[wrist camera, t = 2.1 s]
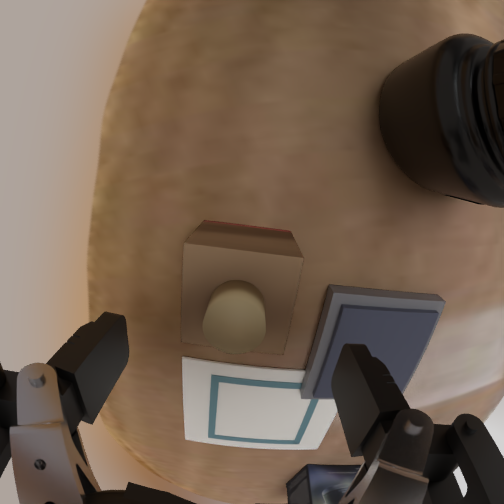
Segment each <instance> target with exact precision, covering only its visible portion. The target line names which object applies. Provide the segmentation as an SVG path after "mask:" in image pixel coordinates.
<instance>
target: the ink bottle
mask: <svg viewBox="0 0 504 504" xmlns="http://www.w3.org/2000/svg"><path fill="white" fill-rule="evenodd" d="M379 121H380V128H381V132H382V136H383V139H384V142H385V144H386V147H387V149H388V151H389V153H390V154H391V156H392V158H393V159H394V161H395V162H396V164H397V165H398V166H399V167H400V169H401V170H402V171H403V172H404V173H405V174H406V175H407V176H408V177H409V178H410V179H412V180H413V181H414V182H416V183H417V184H418V185H420V186H422V187H424V188H426V189H428V190H431V191H434V192H438V193H442V194H446V196H450V197H454V198H457V199H461V200H465V201H469V202H473V203H476V204H482V205H488V206H492V207H499V208H504V39H503V40H501V41H499V42H497V43H495V44H493V43H492V42H490V41H488V40H486V39H484V38H482V37H479V36H477V35H473V34H456V35H453V36H450V37H448V38H446V39H444V40H442V41H440V42H438V43H437V44H435V45H433V46H431V47H430V48H428V49H426V50H424V51H423V52H421V53H419V54H417V55H416V56H414V57H412V58H411V59H409V60H407V61H406V62H404V63H402V64H401V65H399V66H398V67H397V68H396V69H394V70H393V71H392V73H391V74H390V75H389V77H388V78H387V80H386V82H385V84H384V86H383V89H382V93H381V97H380V104H379Z"/></svg>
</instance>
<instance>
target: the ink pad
mask: <svg viewBox="0 0 504 504" xmlns="http://www.w3.org/2000/svg"><path fill="white" fill-rule="evenodd" d="M445 302H446V301H444V300H443V299H442V298H441V297H440V296H439V295H435V294H423V293H412V292H400V291H389V290H379V289H368V288H358V287H349V286H339V285H329V287H328V291H327V295H326V299H325V303H324V307H323V311H322V314H321V318H320V322H319V326H318V329H317V333H316V336H315V340H314V343H313V347H312V350H311V353H310V357H309V360H308V363H307V366H306V373H305V376H304V379H303V382H302V386H301V389H300V395H301V399H334V397H333V394H332V390H331V380H332V375H333V372H334V370H335V367H336V364H337V361H338V358H339V356H340V353H341V350H342V347H343V345H344V344H346V343H349V344H365V345H366V346H367V348H368V350H369V351H370V353H371V355H372V357H377V358H378V359H379V360H380V361H381V362H383V363H384V364H385V365H386V367H387V368H388V370H389V372H390V374H391V376H392V377H393V379H394V380H395V383H396V384H397V386H398V387H399V389H400V391H401V393H402V394H403V392H404V391H405V389H406V387H407V385H408V384H409V382H410V380H411V378H412V376H413V374H414V372H415V370H416V368H417V367H418V365H419V363H420V361H421V359H422V356H423V354H424V352H425V350H426V348H427V346H428V344H429V342H430V339H431V337H432V335H433V332H434V330H435V328H436V325H437V323H438V320H439V318H440V316H441V313H442V310H443V308H444V305H445Z"/></svg>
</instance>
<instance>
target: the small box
mask: <svg viewBox="0 0 504 504" xmlns="http://www.w3.org/2000/svg"><path fill="white" fill-rule="evenodd" d="M360 467H361V465H354V466H340V465H314V464H307V465H306V466H305V467H304V468H303V469H302V470H301V471H300V472H299V473H297V474H296V475H295V476H294V477H293V478H292V479H291V480H290V481H289V482H288V483H287V484H286V487H287V496H288V504H291V503H299V504H338V503H339V501H340V500H341V498H342V497H343V495H344V494H345V492H346V491H347V489H348V487H349V486H350V484H351V482H352V481H353V479H354V477H355V476H356V474H357V472H358V470H359V469H360Z"/></svg>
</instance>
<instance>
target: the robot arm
mask: <svg viewBox="0 0 504 504" xmlns="http://www.w3.org/2000/svg"><path fill="white" fill-rule="evenodd" d="M128 358H129V345H128V336H127V326H126V319H125V317H124V316H123V315H119V314H114V313H110V312H104V313H103V314H102V315H101V316H100V317H99V318H98V319H97V320H96V321H95V322H92V321H91V322H89V323H87V324H85V325H83V326H81V327H80V328H79V329H78V330H77V331H76V332H75V333H74V334H73V336H71V337H70V338H69V339H68V341H67V343H65V344H64V345H63V346H62V347H61V348H60V349H59V350H58V351H57V352H56V353H55V354H54V355H53V357H52V358H51V359H50V360H49V361H48V362H47V363H46V364H44V363H33V364H30V365H27V366H25V367H24V368H23V369H21V371H20V372H14V371H8V370H3V368H2V366H1V363H0V477H1V475H2V473H3V471H4V469H5V468H6V466H7V464H8V462H9V460H10V458H11V456H12V464H13V470H14V477H15V483H16V488H17V493H18V498H19V502H20V504H196V503H193V502H191V501H188V500H185V499H183V498H181V497H178V496H176V495H173V494H171V493H169V492H165V491H160V490H156V489H152V488H148V487H145V486H141V485H137V484H134V483H131V482H128V485H127V488H126V490H105V491H101V489H100V487H99V485H98V483H97V481H96V479H95V477H94V475H93V472H92V470H91V467H90V464H89V462H88V458H87V455H86V452H85V449H84V446H83V442H82V439H81V436H80V432H79V429H78V427H77V426H78V425H79V423H80V421H81V420H82V421H84V422H86V423H89V424H93V423H94V421H95V419H96V417H97V415H98V413H99V412H100V410H101V408H102V406H103V404H104V403H105V401H106V399H107V397H108V396H109V394H110V392H111V390H112V389H113V387H114V385H115V383H116V382H117V380H118V378H119V377H120V375H121V373H122V371H123V370H124V368H125V366H126V365H127V362H128ZM331 390H332V394H333V397H334V400H335V403H336V407H337V410H338V413H339V417H340V420H341V423H342V427H343V430H344V433H345V437H346V440H347V444H348V447H349V451H350V454H351V457H356V456H364V459H365V461H364V462H363V464H362V465H361V467H360V469H359V470H358V472H357V474H356V476H355V477H354V479H353V481H352V482H351V484H350V486H349V487H348V489H347V491H346V492H345V494H344V495H343V497H342V498H341V500H340V501H339V503H338V504H504V458H503V456H502V454H501V452H500V451H499V449H498V447H497V445H496V444H495V442H494V440H493V439H492V437H491V435H490V434H489V432H488V430H487V429H486V427H485V425H484V424H483V422H482V421H481V420H480V419H479V418H477V417H476V416H474V415H471V414H461V415H459V416H458V417H457V418H456V419H455V420H454V422H453V423H452V424H451V425H441V424H433V422H432V420H431V418H430V417H429V416H428V415H427V414H425V413H424V412H422V411H419V410H416V409H410V407H409V405H408V403H407V401H406V400H405V398H404V396H403V394H402V393H401V391H400V389H399V387H398V386H397V384H396V383H395V380H394V379H393V377H392V376H391V374H390V372H389V370H388V368H387V367H386V365H385V364H384V363H383V362H381V361H380V360H379V359H378V358H377V357H372V355H371V353H370V351H369V350H368V348H367V346H366V345H365V344H349V343H346V344H344V345H343V347H342V350H341V353H340V356H339V358H338V361H337V364H336V367H335V370H334V372H333V375H332V380H331ZM458 466H459V467H460V469H461V472H462V474H463V476H464V478H465V481H466V483H467V487H468V488H467V493H466V495H465V497H464V498H463V495H462V493H461V490H460V488H459V485H458V483H457V480H456V478H455V476H454V474H453V471H454V470H455V469H456V468H457V467H458ZM257 504H258V503H257ZM291 504H299V503H291Z"/></svg>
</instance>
